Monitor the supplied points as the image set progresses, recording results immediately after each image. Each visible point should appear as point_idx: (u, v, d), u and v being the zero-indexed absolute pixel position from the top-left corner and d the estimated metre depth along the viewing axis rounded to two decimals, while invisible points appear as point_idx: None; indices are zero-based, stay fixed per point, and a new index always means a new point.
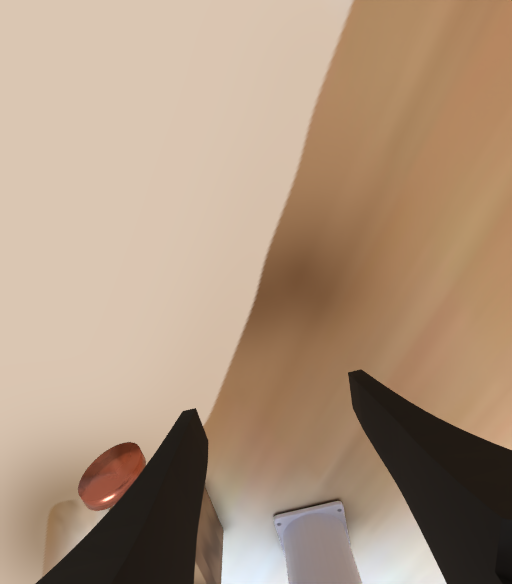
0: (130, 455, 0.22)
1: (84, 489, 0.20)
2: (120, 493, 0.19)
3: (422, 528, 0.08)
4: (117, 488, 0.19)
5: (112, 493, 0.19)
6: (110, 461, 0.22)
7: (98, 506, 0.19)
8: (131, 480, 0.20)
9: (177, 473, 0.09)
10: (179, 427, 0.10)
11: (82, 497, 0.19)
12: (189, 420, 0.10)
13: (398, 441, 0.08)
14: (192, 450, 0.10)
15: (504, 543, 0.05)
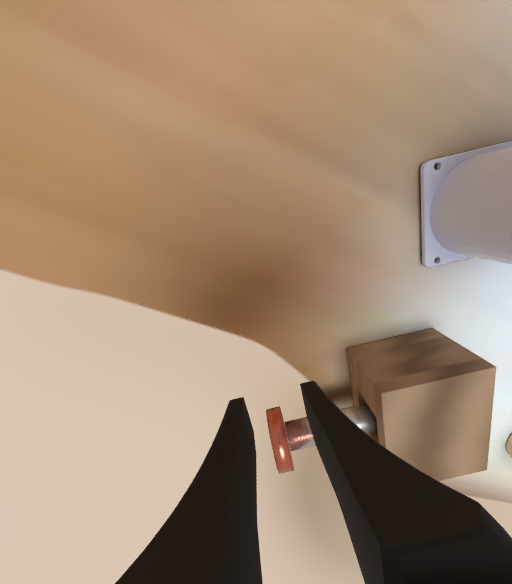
0: None
1: None
2: (279, 445, 0.19)
3: (353, 543, 0.08)
4: (272, 447, 0.19)
5: (275, 452, 0.19)
6: None
7: (287, 465, 0.19)
8: (274, 431, 0.20)
9: (240, 459, 0.09)
10: (233, 415, 0.10)
11: (279, 472, 0.20)
12: (241, 408, 0.10)
13: (331, 456, 0.08)
14: (246, 438, 0.10)
15: (386, 570, 0.05)
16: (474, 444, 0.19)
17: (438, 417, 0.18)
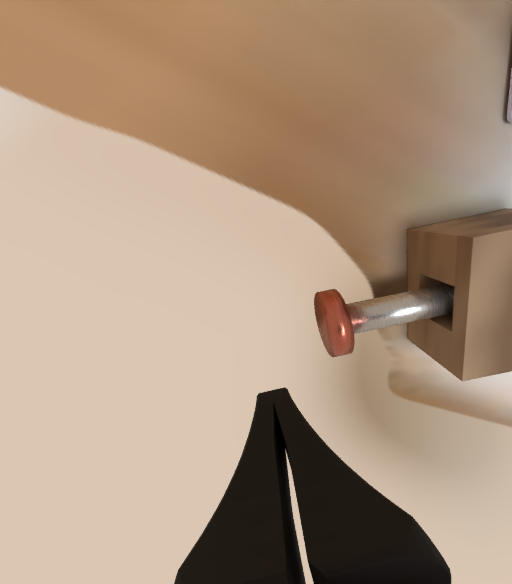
0: (318, 303, 0.19)
1: (332, 350, 0.18)
2: (340, 314, 0.16)
3: None
4: (331, 317, 0.16)
5: (335, 322, 0.16)
6: (322, 324, 0.19)
7: (347, 339, 0.16)
8: (332, 302, 0.17)
9: (277, 450, 0.09)
10: (265, 407, 0.10)
11: (335, 353, 0.17)
12: (272, 401, 0.10)
13: None
14: (278, 430, 0.10)
15: None
16: None
17: None
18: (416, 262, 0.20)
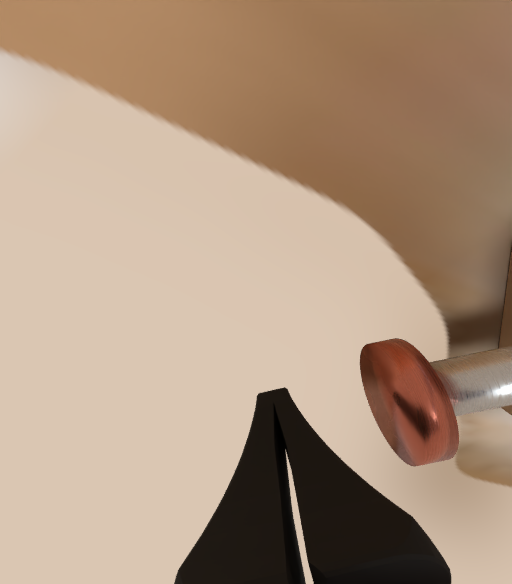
0: (374, 362, 0.11)
1: (405, 452, 0.10)
2: (432, 401, 0.09)
3: None
4: (416, 405, 0.09)
5: (423, 416, 0.09)
6: (377, 395, 0.12)
7: (446, 447, 0.09)
8: (413, 373, 0.09)
9: (277, 450, 0.09)
10: (265, 407, 0.10)
11: (416, 464, 0.09)
12: (272, 401, 0.10)
13: None
14: (278, 430, 0.10)
15: None
16: None
17: None
18: None
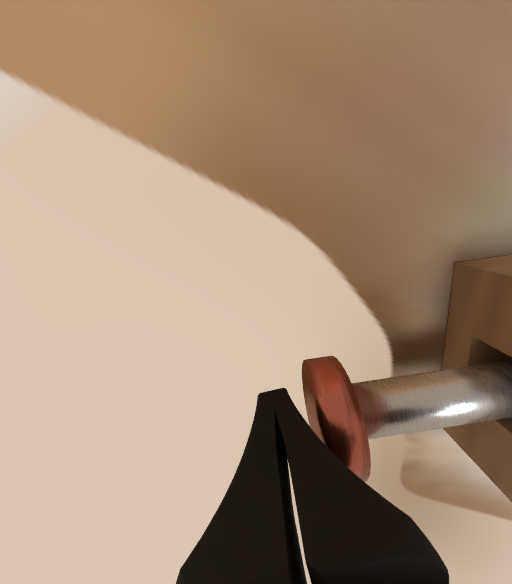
0: (309, 378, 0.11)
1: None
2: (347, 423, 0.09)
3: None
4: (330, 426, 0.09)
5: (336, 438, 0.09)
6: (311, 411, 0.12)
7: (358, 469, 0.09)
8: (334, 394, 0.09)
9: (278, 450, 0.09)
10: (265, 407, 0.10)
11: None
12: (273, 400, 0.10)
13: None
14: (279, 430, 0.10)
15: None
16: None
17: None
18: (468, 317, 0.12)
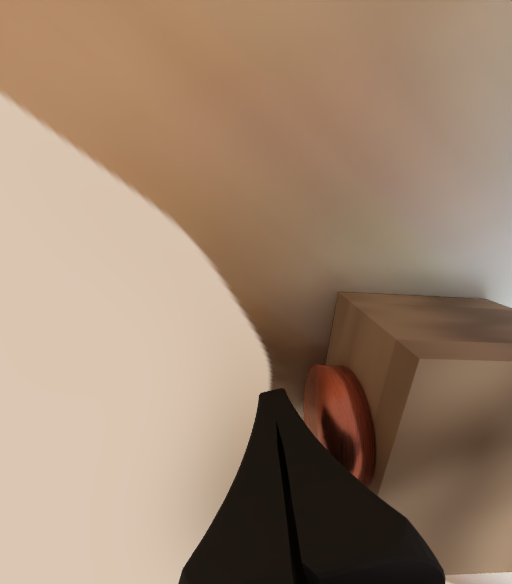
0: (317, 383, 0.11)
1: None
2: (357, 432, 0.09)
3: None
4: (342, 432, 0.09)
5: (345, 445, 0.09)
6: (313, 416, 0.12)
7: (360, 479, 0.09)
8: (348, 402, 0.09)
9: (280, 449, 0.09)
10: (267, 407, 0.10)
11: None
12: (274, 400, 0.10)
13: None
14: None
15: None
16: None
17: (508, 450, 0.08)
18: (338, 347, 0.12)
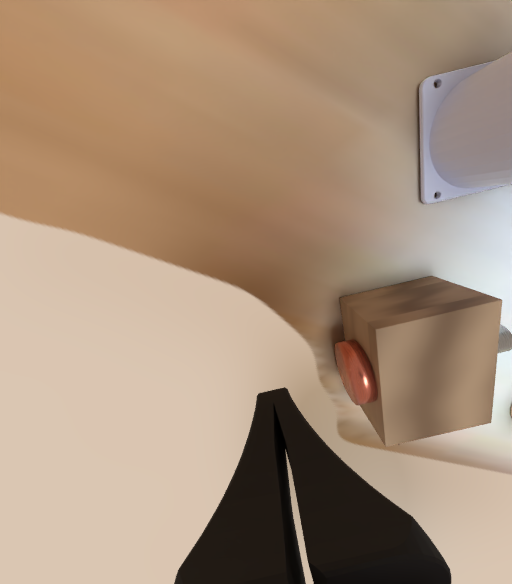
0: (340, 352, 0.20)
1: (355, 399, 0.19)
2: (363, 370, 0.18)
3: None
4: (355, 372, 0.18)
5: (359, 377, 0.18)
6: (343, 371, 0.21)
7: (371, 392, 0.18)
8: (355, 357, 0.18)
9: (277, 450, 0.09)
10: (265, 407, 0.10)
11: (359, 403, 0.18)
12: (272, 401, 0.10)
13: None
14: (278, 430, 0.10)
15: None
16: (478, 392, 0.18)
17: (438, 359, 0.17)
18: (348, 329, 0.21)
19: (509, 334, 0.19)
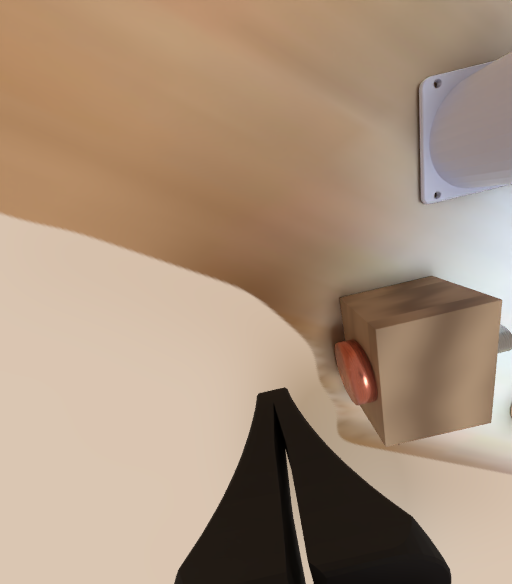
0: (340, 352, 0.20)
1: (355, 399, 0.19)
2: (363, 370, 0.18)
3: None
4: (355, 372, 0.18)
5: (359, 377, 0.18)
6: (343, 371, 0.21)
7: (371, 392, 0.18)
8: (355, 357, 0.18)
9: (277, 450, 0.09)
10: (264, 407, 0.10)
11: (359, 403, 0.18)
12: (272, 401, 0.10)
13: None
14: (278, 430, 0.10)
15: None
16: (478, 392, 0.18)
17: (438, 359, 0.17)
18: (348, 329, 0.21)
19: (509, 334, 0.19)
